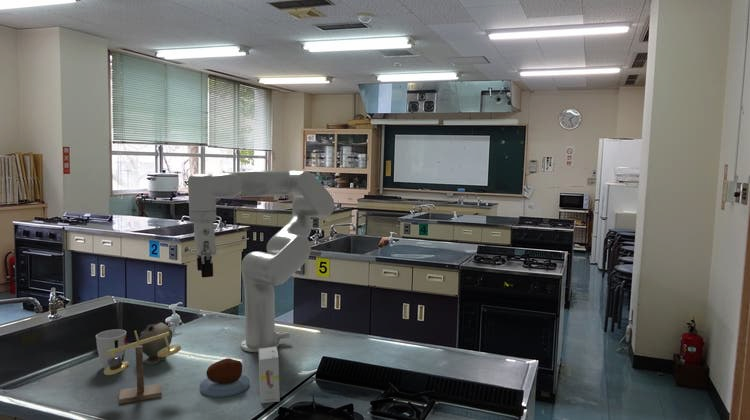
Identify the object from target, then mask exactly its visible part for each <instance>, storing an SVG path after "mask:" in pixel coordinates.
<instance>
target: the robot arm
mask: <svg viewBox="0 0 750 420" xmlns="http://www.w3.org/2000/svg"><path fill="white" fill-rule="evenodd" d="M187 188H188V210H189V211H188V213H189V215H188V216H189V223H193V234H194V235H193V236H194V238H193V239H194V246H195V248H194V249H195V252H196V255H197V257H196V266H197V267H196V269H197V271H198V272H199V271H201V278H211V277H214V263H213V256H216V254H217V248H216V234H215V224H214V223H216V222H217V203H216V202H217V201H216V200H217V198H222V199H223V198H224V199H231V198H236V197H237V196H246V197H256V198H258V197H259V198H261V197H262V198H263V197H264V198H265V197H266V198H267V197H279V196H280V197H282V196H294V197H293V199H292V202H291V203H292V204H291V207H292V208H291V209H292V210H291V218H290V220H289V221H288V223H286V225H284V226H283V227H282V228H281V229H280V230H278V231H277V232H276V233H275V234H274V235H272V237H271V238H270V239H269V240H268V242H267V243H266V251H267V252H265V251H264V252H263V251H256V250H255V251H251V252H249V253H247V254H245V256H243V259H242V261H241V265H240V267H241V268H240V270H241V276H242V280H243V288H244V318H245V323H244V325H245V326H244V327H245V339H244V340H242V341H241V342H240V348H241V350H243V351H245V352H248V353H249V352H250V353H259V349H261V348H269V347H277V348H279V346H280V343H281V342H280V341H281V339H289V338H290V333H289V331H287V332H284V330H282V331H276V328H275V327H276V325H275V324H276V322H275V321H276V320H275V319H276V317H275V314H276V312H275V310H276V309H275V290H274V286H279V285H282V284H283V283H286V281H288V280H289V279H290V278H291V277H292V276H293V275H294V274H295V273H296V272H298V270H299V269H300V268H301V267H303V265H304V264H306V262H307V261H308V259H309V257H310V254H311V251H312V246H311V245H312V244H311V241H310V240H309V236H310V234H311V232H312V217H316V218H326V217H330V216H331V215H332V214H333V212H334V210H335V200H334V198H333V196H332V194H331V193H330V192H329V191H328V190H327V188H326V187H325V186H324V184H323V183H322V182H321V181H320V180H319V179H318V178H317V177H316V176H315V175H314V174H313V173H311V172H310V171H307V170H294V169H291V170H288V169H287V170H249V171H234V172H233V171H232V172H231V171H222V172H221V171H220V172H219V171H218V172H215V171H214V172H209V173H206V174H205V173H203V174H202V173H201V174H191V175H189V177H188V179H187Z"/></svg>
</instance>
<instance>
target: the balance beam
mask: <svg viewBox="0 0 750 420" xmlns="http://www.w3.org/2000/svg"><path fill="white" fill-rule="evenodd" d="M137 332H138V331H137V330H134V335H135V339H136V341H135V342H131V343H128V344H126V345H125V346H121V347H118V348H115V349H112V350H109V351H107V354H108V355H109V354H111V355H112V358H110V359H108V360H107V361H108V364H109V367H107V368H106V369H103V373H104V375H105V376H110V375H111V376H112V375H115V374H118V373H121V372H123V371H125V370H126V369H128V368H129V367H130V362H129V361H124V360H123V362H122V361H121V358H120V356H114V353H116V352H119V351H122V350H125V351H126V350H129V349H131V348H134V347H135V348H136V346H138V345H141V344H144V343H147V342H150V341H154V340H157V339H160V338H163V337H165V341H166V345H167V347H165V348H163V349H161V350H160V351H159V352H158V353H157V355H158V357H165V358H167V357H171V356H173V355H176V354H177V353H178V352H180V351H181V350H182V346H181V345H180V344H170V346H169V344H168V340H167V337H166V336H169V332H166V333H163V334H160V335H157V336H153V337H150V338H147V339H144V340H141V341H139V336H138V335H139V334H138V333H137Z"/></svg>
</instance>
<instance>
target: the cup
mask: <svg viewBox="0 0 750 420" xmlns="http://www.w3.org/2000/svg"><path fill="white" fill-rule="evenodd" d="M95 339H96V349H97V353H98V358H99V362H100V364H101V365H102V368H103V370H105V369H106V368H107V367H109V364H108V361H107V360H108V359H110V358H112V355H111V354H109V355H108V354H107V351H109V350H112V349H115V348H118V347H121V346H125V345H127V331H126V330H124V329H121V328H120V329H118V328H117V329H107V330H104V331H101V332H99V333H97V334H96V335H95ZM125 355H126V349H125V350H122V351H119V352H116V353H114V356H120V358H121V361H122V362H123V361H124V360H125Z"/></svg>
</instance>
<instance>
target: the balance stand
mask: <svg viewBox="0 0 750 420" xmlns="http://www.w3.org/2000/svg"><path fill="white" fill-rule="evenodd" d="M134 349H135V365H136V366H135V368H136V370H135V371H136V386H135V387H128V388H122V389H119V395H118V396H119V398H118V399H119V400H118V403H119V405H121V404H127V403H133V401H134V402H137V401H138V402H140V401H145V400H150V399H156V398H163V397H162V396H163V395H162V383H154V384H149V385H145V378H144V376H145V375H144V355H143V354H144V353H143V350H142V345H141V346H135V348H134Z"/></svg>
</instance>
